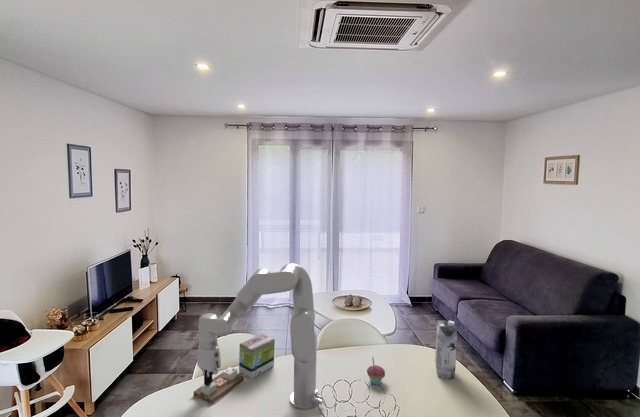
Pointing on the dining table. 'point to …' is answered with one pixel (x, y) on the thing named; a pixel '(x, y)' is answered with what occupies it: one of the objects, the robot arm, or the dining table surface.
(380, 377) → the cupcake
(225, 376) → the two-pip tile
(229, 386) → the tile board
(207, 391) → the pale grey square block
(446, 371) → the juice carton
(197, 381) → the dining table surface
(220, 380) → the pink three-dot die face
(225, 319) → the robot arm
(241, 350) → the tea box
